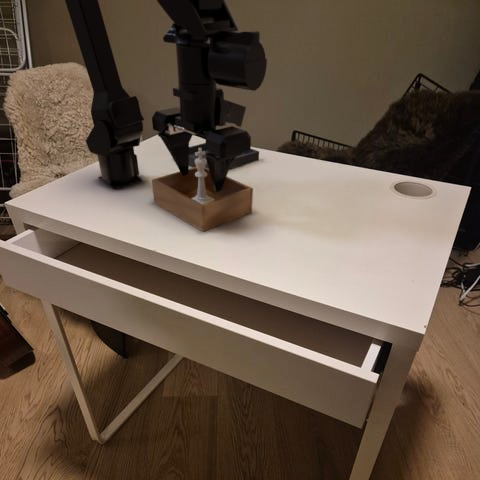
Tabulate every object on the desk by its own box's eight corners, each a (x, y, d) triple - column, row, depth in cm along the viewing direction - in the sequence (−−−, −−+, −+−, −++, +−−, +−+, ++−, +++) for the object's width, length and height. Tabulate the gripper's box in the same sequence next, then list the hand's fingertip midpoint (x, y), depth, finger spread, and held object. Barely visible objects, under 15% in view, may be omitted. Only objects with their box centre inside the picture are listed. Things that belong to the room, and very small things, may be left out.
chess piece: (184, 202, 75) (180, 145, 69) (208, 197, 77) (207, 141, 71) (195, 213, 72) (192, 154, 66) (220, 208, 74) (220, 150, 67)
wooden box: (202, 231, 68) (201, 206, 65) (154, 203, 76) (151, 179, 73) (251, 212, 74) (252, 188, 71) (202, 187, 82) (201, 165, 79)
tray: (210, 175, 87) (210, 165, 85) (176, 159, 93) (175, 150, 92) (258, 160, 94) (259, 151, 93) (223, 146, 101) (223, 138, 100)
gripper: (279, 85, 61) (271, 187, 71) (200, 66, 71) (203, 158, 81) (222, 95, 55) (222, 205, 65) (145, 73, 65) (155, 171, 75)
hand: (201, 182), depth 72 cm, fingers open, 9 cm apart
